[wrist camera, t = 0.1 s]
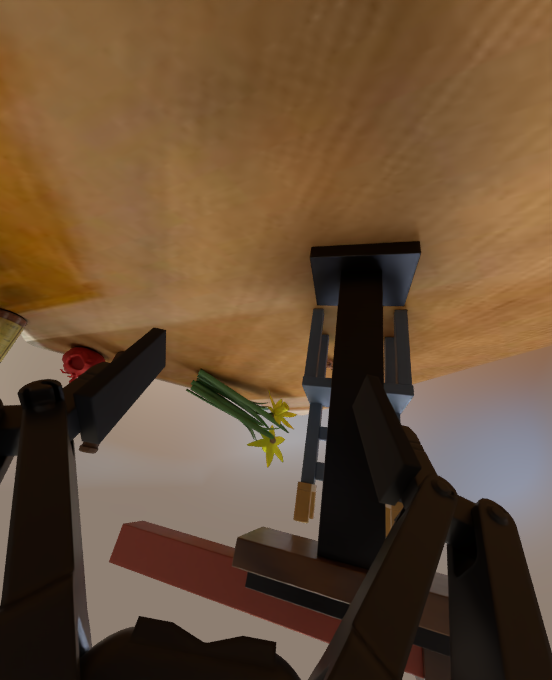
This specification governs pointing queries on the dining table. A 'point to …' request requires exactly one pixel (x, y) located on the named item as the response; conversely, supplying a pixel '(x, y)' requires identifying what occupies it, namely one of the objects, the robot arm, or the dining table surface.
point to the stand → (346, 452)
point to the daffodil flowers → (211, 385)
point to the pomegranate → (80, 361)
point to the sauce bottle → (9, 330)
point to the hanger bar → (235, 586)
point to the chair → (319, 396)
